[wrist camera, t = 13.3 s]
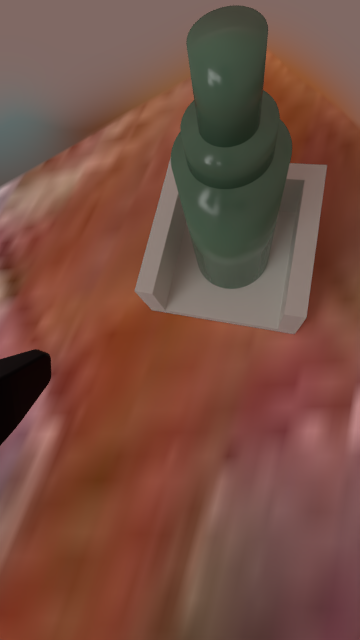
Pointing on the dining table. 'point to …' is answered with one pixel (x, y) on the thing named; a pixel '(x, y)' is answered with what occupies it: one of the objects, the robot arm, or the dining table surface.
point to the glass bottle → (230, 148)
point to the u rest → (252, 300)
